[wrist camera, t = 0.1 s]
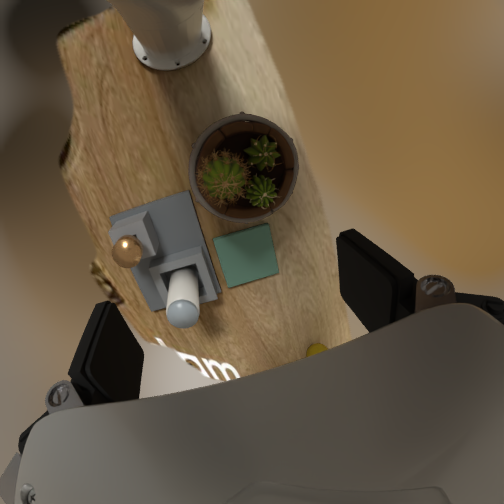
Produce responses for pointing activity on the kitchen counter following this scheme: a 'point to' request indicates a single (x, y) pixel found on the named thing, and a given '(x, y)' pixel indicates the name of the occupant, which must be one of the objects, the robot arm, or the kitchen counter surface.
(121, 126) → the kitchen counter surface
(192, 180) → the flowerpot
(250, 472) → the robot arm
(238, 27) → the kitchen counter surface
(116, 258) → the plunger
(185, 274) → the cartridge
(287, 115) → the kitchen counter surface
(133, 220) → the grey base with tray
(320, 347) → the lemon
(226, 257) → the mat
